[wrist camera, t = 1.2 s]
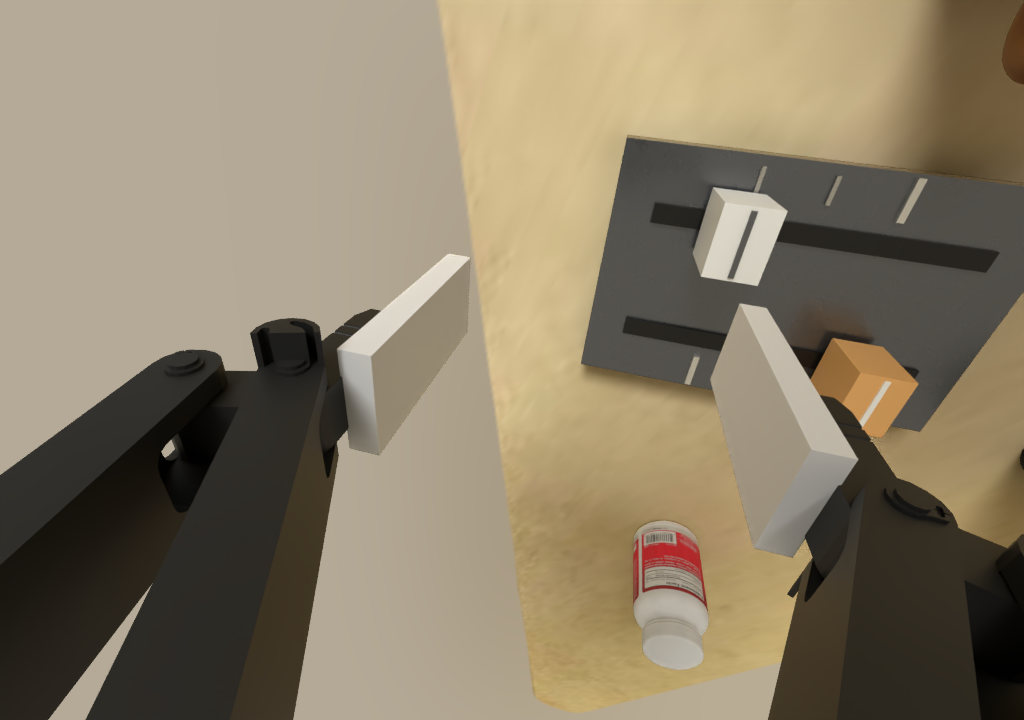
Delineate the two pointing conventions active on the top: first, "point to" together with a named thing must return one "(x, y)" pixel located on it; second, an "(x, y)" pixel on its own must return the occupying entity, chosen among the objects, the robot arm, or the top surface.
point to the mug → (1015, 49)
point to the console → (808, 265)
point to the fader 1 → (737, 235)
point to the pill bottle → (669, 594)
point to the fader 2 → (864, 383)
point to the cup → (1022, 459)
